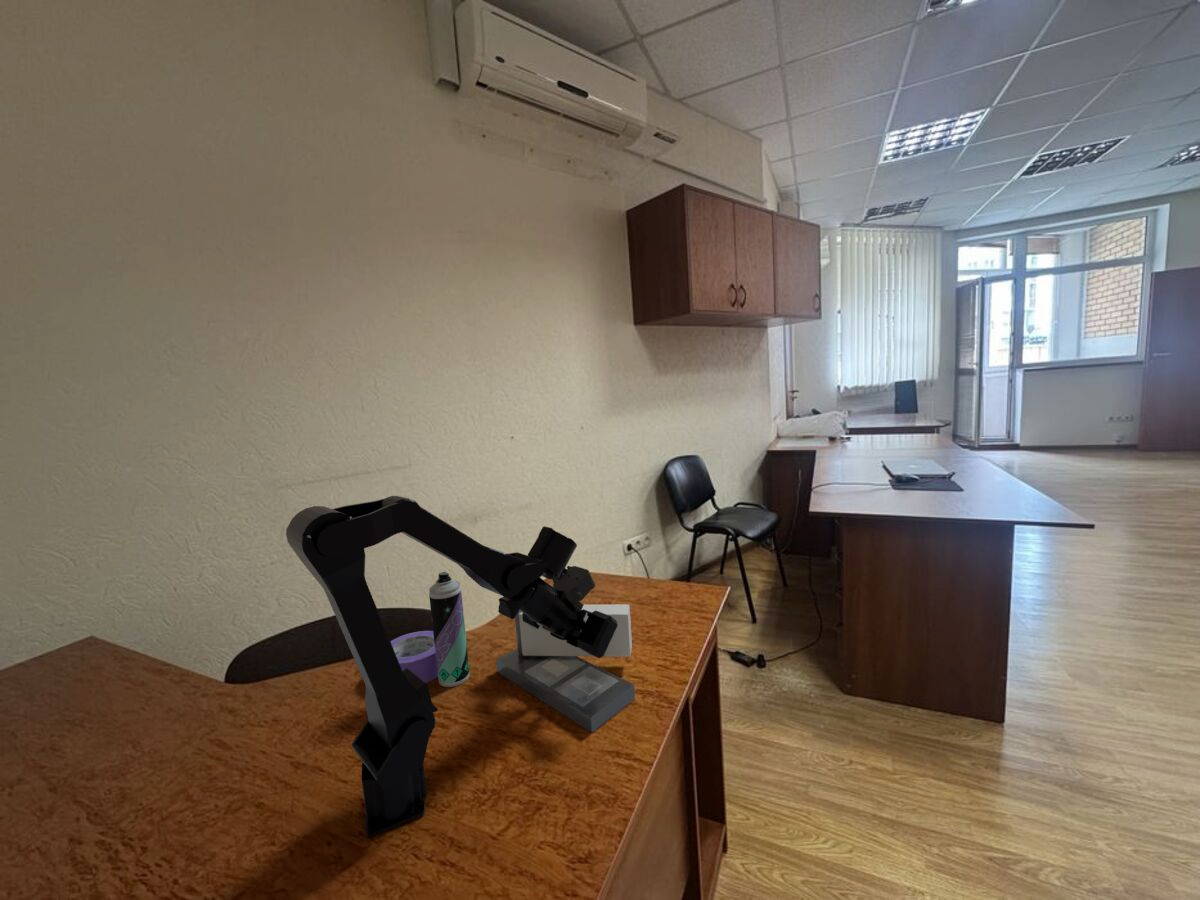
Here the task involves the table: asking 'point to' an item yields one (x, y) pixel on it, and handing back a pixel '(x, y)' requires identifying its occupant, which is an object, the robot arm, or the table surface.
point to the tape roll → (417, 654)
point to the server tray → (569, 686)
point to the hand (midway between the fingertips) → (593, 640)
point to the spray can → (449, 631)
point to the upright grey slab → (548, 645)
